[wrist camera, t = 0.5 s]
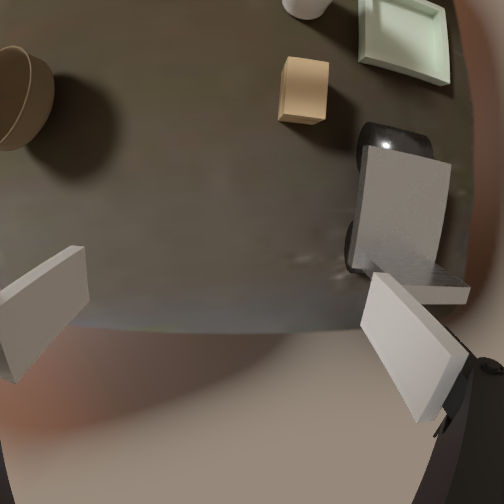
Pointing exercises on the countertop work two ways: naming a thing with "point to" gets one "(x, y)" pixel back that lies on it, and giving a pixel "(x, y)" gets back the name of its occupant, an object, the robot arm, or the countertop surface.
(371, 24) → the tray
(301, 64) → the wooden block
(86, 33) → the countertop surface
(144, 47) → the countertop surface
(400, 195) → the grey toy cart
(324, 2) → the drinking glass
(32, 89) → the bowl
